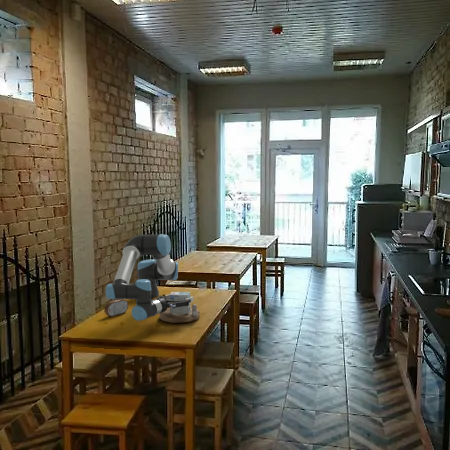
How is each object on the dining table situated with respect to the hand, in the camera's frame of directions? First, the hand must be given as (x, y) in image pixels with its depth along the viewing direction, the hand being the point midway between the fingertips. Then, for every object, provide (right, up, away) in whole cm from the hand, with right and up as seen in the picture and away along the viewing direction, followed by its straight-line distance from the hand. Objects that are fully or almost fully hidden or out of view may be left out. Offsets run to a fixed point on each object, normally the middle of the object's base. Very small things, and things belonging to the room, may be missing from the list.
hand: (183, 297), depth 251 cm
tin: (-38, -11, +5) cm, 40 cm away
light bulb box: (-1, -8, -1) cm, 8 cm away
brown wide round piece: (-2, -10, -2) cm, 11 cm away
